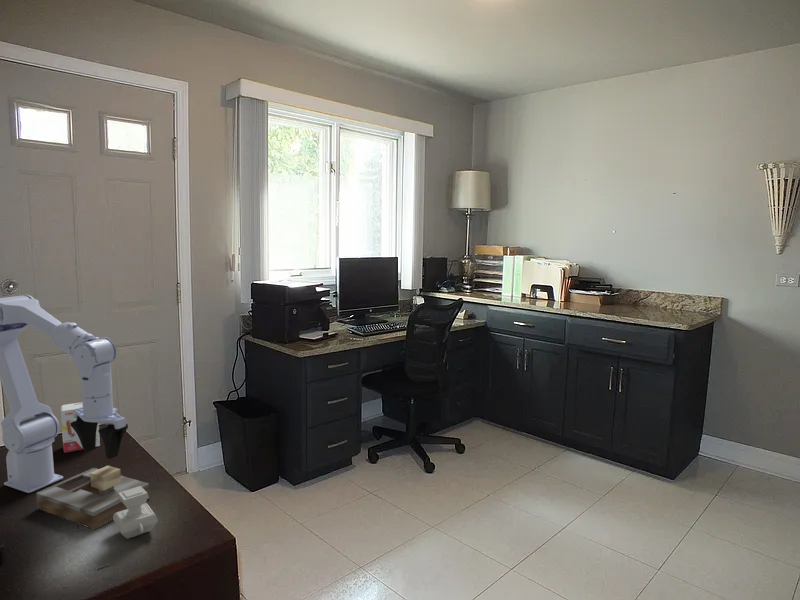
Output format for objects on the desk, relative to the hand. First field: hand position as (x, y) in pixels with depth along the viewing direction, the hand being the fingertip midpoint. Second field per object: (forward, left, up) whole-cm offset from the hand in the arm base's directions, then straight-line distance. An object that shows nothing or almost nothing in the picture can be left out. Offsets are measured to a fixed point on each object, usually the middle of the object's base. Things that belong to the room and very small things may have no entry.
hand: (101, 453), depth 114 cm
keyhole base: (+1, -3, -10) cm, 11 cm away
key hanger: (+5, -3, -9) cm, 11 cm away
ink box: (-30, +15, -10) cm, 35 cm away
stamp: (+18, -7, -10) cm, 22 cm away
